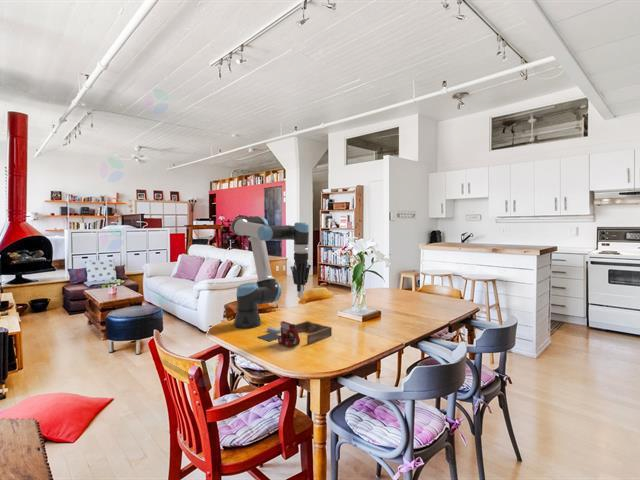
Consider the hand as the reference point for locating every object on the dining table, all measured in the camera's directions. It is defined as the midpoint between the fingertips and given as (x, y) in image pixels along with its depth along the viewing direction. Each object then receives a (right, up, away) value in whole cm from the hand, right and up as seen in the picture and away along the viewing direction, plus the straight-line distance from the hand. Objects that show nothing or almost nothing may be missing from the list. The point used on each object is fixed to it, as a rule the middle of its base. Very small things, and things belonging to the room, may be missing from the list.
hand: (300, 297), depth 188 cm
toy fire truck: (-5, -21, -13) cm, 25 cm away
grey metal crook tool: (-6, -19, +8) cm, 22 cm away
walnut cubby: (+4, -20, -2) cm, 20 cm away
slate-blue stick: (-15, -20, +5) cm, 25 cm away
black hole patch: (-15, -20, -3) cm, 25 cm away
